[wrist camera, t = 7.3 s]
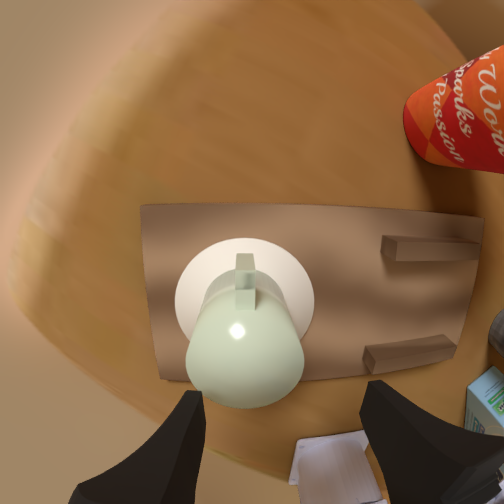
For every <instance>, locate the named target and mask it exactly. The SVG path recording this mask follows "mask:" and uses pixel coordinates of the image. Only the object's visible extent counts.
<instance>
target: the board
mask: <svg viewBox="0 0 504 504" xmlns="http://www.w3.org/2000/svg"><path fill="white" fill-rule="evenodd" d="M140 215H141V234H142V249H143V262H144V273H145V283H146V292H147V300H148V308H149V315H150V323H151V329H152V336H153V342H154V348H155V354H156V359H157V365H158V370H159V375H160V379H164V380H176V381H191V380H190V378H189V376H188V373H187V369H186V353H187V350H188V347H189V344H190V341H189V340H188V338H187V337H186V336H185V334H184V332H183V331H182V329H181V327H180V325H179V322H178V319H177V316H176V310H175V294H176V288H177V285H178V282H179V279H180V277H181V275H182V273H183V272H184V270H185V268H186V267H187V265H188V264H189V263H190V262H191V260H192V259H193V258H194V257H195V256H196V255H198V254H199V253H200V252H201V251H203V250H204V249H206V248H207V247H209V246H211V245H213V244H215V243H218V242H221V241H224V240H227V239H232V238H243V237H247V238H257V239H262V240H266V241H269V242H271V243H274V244H276V245H278V246H280V247H282V248H283V249H285V250H286V251H288V252H289V253H290V254H292V255H293V256H294V257H295V258H296V259H297V260H298V261H299V263H300V264H301V265H302V266H303V268H304V270H305V271H306V273H307V275H308V277H309V279H310V281H311V284H312V288H313V292H314V311H313V316H312V319H311V322H310V325H309V327H308V329H307V331H306V333H305V334H304V336H303V337H302V338H301V340H300V344H301V347H302V350H303V354H304V369H303V373H302V376H301V378H300V380H299V381H308V380H321V379H331V378H341V377H349V376H357V375H364V374H372V375H374V374H380V373H386V372H392V371H397V370H403V369H408V368H413V367H418V366H422V365H427V364H431V363H436V362H440V361H444V360H448V359H452V358H453V356H454V354H455V351H456V348H457V345H458V342H459V339H460V336H461V332H462V329H463V326H464V323H465V319H466V316H467V312H468V308H469V304H470V300H471V296H472V292H473V288H474V283H475V279H476V274H477V268H478V263H479V257H480V251H481V245H482V237H483V229H484V219H485V218H481V217H476V216H467V215H458V214H449V213H438V212H428V211H416V210H404V209H391V208H376V207H359V206H340V205H316V204H282V203H179V204H146V205H142V206H140Z"/></svg>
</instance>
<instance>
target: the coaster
mask: <svg viewBox="0 0 504 504" xmlns="http://www.w3.org/2000/svg"><path fill="white" fill-rule="evenodd" d="M237 253H253V256H254V262H255V269H256V270H258V271H261V272H263V273H265V274H267V275H268V276H270V277H271V278H272V279H273V280H275V282H276V283H277V284H278V285H279V287H280V288H281V290H282V293H283V295H284V298H285V301H286V304H287V307H288V310H289V312H290V315H291V318H292V321H293V324H294V327H295V330H296V332H297V335H298V338H299V341H300V340H301V338H302V337H303V336H304V334H305V333H306V331H307V329H308V327H309V325H310V322H311V319H312V316H313V311H314V292H313V288H312V284H311V281H310V279H309V277H308V275H307V273H306V271H305V270H304V268H303V266H302V265H301V264H300V263H299V261H298V260H297V259H296V258H295V257H294V256H293V255H292V254H290V253H289V252H288V251H286V250H285V249H283V248H282V247H280V246H278V245H276V244H274V243H271V242H269V241H266V240H262V239H257V238H247V237H243V238H232V239H227V240H224V241H221V242H218V243H215V244H213V245H211V246H209V247H207V248H206V249H204V250H203V251H201V252H200V253H199V254H198V255H196V256H195V257H194V258H193V259H192V260H191V262H190V263H189V264H188V265H187V267H186V268H185V270H184V272H183V273H182V275H181V277H180V279H179V282H178V285H177V288H176V294H175V310H176V316H177V319H178V322H179V325H180V327H181V329H182V331H183V332H184V334H185V336H186V337H187V338H188V340H189V341H190V340H191V337H192V334H193V331H194V327H195V324H196V321H197V318H198V315H199V311H200V308H201V305H202V302H203V299H204V296H205V293H206V290H207V288H208V287H209V285H210V284H211V283H212V282H213V280H214V279H216V278H217V277H218V276H220V275H221V274H223V273H225V272H227V271H230V270H233V269H235V267H236V255H237Z"/></svg>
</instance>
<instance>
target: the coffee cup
mask: <svg viewBox="0 0 504 504" xmlns="http://www.w3.org/2000/svg"><path fill="white" fill-rule="evenodd" d="M403 123H404V129H405V132H406V135H407V138H408V140H409V142H410V144H411V146H412V147H413V149H414V150H415V151H416V153H417V154H418V155H419V156H420V157H422V158H423V159H424V160H426V161H427V162H429V163H432V164H435V165H441V166H448V167H456V168H465V169H472V170H480V171H487V172H494V173H500V174H504V45H502V46H500V47H498V48H496V49H494V50H492V51H490V52H488V53H486V54H484V55H482V56H480V57H478V58H476V59H474V60H472V61H470V62H468V63H466V64H464V65H462V66H460V67H458V68H456V69H454V70H453V71H451V72H449V73H447V74H445V75H443V76H442V77H440V78H438V79H436V80H434V81H433V82H431V83H429V84H427V85H426V86H424V87H422V88H421V89H419V90H418V91H416V92H415V93H413V94H412V95H411V96H410V97H409V98H408V100H407V102H406V104H405V107H404V111H403Z"/></svg>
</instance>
